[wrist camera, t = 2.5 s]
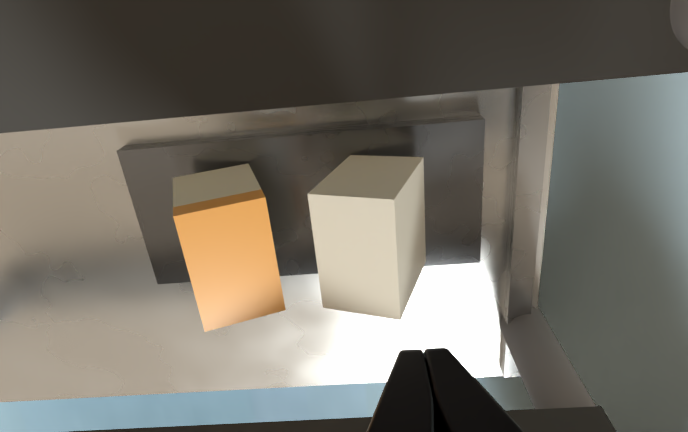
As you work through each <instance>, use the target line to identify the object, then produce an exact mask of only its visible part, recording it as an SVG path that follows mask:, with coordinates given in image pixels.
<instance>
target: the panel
mask: <svg viewBox="0 0 688 432" xmlns="http://www.w3.org/2000/svg"><path fill="white" fill-rule="evenodd" d="M558 93H559V84H548V85H536V86H525V87H514V88H503V89H492V90H480V91H469V92H458V93H447V94H436V95H424V96H413V97H402V98H391V99H380V100H368V101H357V102H346V103H335V104H324V105H312V106H301V107H290V108H279V109H268V110H256V111H245V112H234V113H223V114H212V115H200V116H189V117H178V118H167V119H156V120H144V121H133V122H122V123H111V124H100V125H88V126H77V127H66V128H55V129H44V130H32V131H21V132H10V133H0V402H13V401H32V400H51V399H70V398H89V397H108V396H127V395H146V394H165V393H184V392H204V391H223V390H242V389H261V388H280V387H299V386H318V385H337V384H356V383H375V382H387V380H388V377H389V375H390V372H391V370H392V368H393V365H394V363H395V360H396V358H397V355H398V353H399V352H400V351H401V350H406V349H421V350H422V351H423V353H424V350H425V349H427V348H442V347H444V348H447V349H449V350H450V351H451V352H452V353H453V355H454V356H455V357H456V358H457V359H458V360H459V361H460V362H461V363H462V364H463V365H464V367H465V368H466V369H467V370H468V371H469V372H470V373H471V374H472V375H473V376H474V377H490V376H503V377H504V378H507V377H521V376H520V374H519V371H518V369H517V367H516V364H515V362H514V360H513V357H512V355H511V353H510V350H509V348H508V346H507V343H506V341H505V339H504V336H503V334H502V332H501V329H500V322H501V319H502V317H504V319H505V321H506V323H507V324H508V323H509V322H510V321H511V320H513V319H514V318H516V317H518V316H521V315H525V314H531V309H532V307H535V308H537V307H538V297H539V286H540V276H541V266H542V256H543V246H544V235H545V225H546V215H547V205H548V195H549V184H550V174H551V164H552V154H553V144H554V133H555V123H556V113H557V103H558ZM350 155H367V156H400V157H424V200H425V244H426V262H425V265H424V267H423V269H422V272H421V274H420V276H419V279H418V281H417V283H416V286H415V288H414V290H413V293H412V295H411V297H410V299H409V302H408V304H407V306H406V309H405V311H404V313H403V316H402V318H401V320H395V319H389V318H383V317H377V316H371V315H365V314H358V313H352V312H346V311H340V310H334V309H328V308H323V305H322V298H321V290H320V283H319V276H318V268H317V261H316V254H315V246H314V239H313V232H312V224H311V217H310V210H309V203H308V195H307V194H308V193H309V192H310V191H311V190H312V189H313V188H314V187H316V186H317V185H318V184H319V183H320V182H321V181H322V180H323V179H324V178H326V177H327V176H328V175H329V174H330V173H331V172H332V171H333V170H334V169H335V168H337V167H338V166H339V165H340V164H341V163H342V162H343V161H344V160H345V159H347V158H348V157H349V156H350ZM242 164H249V166H250V168H251V170H252V172H253V173H254V175H255V177H256V179H257V181H258V183H259V185H260V187H261V189H262V191H263V193H264V195H265V197H266V203H267V208H268V214H269V219H270V225H271V231H272V236H273V242H274V248H275V253H276V259H277V264H278V270H279V276H280V281H281V287H282V292H283V298H284V304H285V309H286V310H284V311H280V312H277V313H273V314H269V315H266V316H262V317H258V318H255V319H251V320H247V321H244V322H240V323H236V324H233V325H229V326H225V327H222V328H218V329H214V330H211V331H207V332H205V331H204V328H203V324H202V320H201V317H200V313H199V309H198V306H197V302H196V298H195V295H194V291H193V287H192V284H191V280H190V277H189V273H188V269H187V266H186V262H185V258H184V255H183V251H182V247H181V244H180V240H179V236H178V233H177V229H176V225H175V222H174V218H173V177H179V176H184V175H189V174H195V173H200V172H205V171H211V170H216V169H221V168H227V167H232V166H237V165H242Z"/></svg>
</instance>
